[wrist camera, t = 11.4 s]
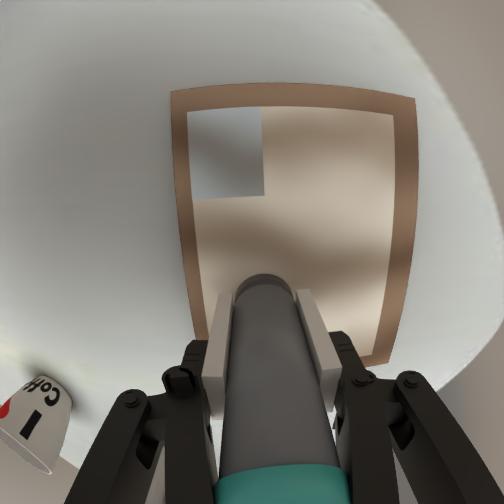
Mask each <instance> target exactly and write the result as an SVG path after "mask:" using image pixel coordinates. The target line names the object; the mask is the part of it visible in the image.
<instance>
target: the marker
mask: <svg viewBox="0 0 504 504" xmlns="http://www.w3.org/2000/svg"><path fill="white" fill-rule="evenodd" d="M214 491H215V504H351V499H350V491H349V485H348V480H347V475H346V472H345V471H344V470H343V469H341V466H340V462H339V458H338V454H337V450H336V446H335V442H334V438H333V434H332V430H331V427H330V423H329V419H328V415H327V412H326V408H325V404H324V401H323V397H322V393H321V390H320V386H319V383H318V379H317V375H316V372H315V368H314V365H313V361H312V358H311V354H310V351H309V348H308V344H307V341H306V337H305V334H304V331H303V327H302V324H301V321H300V317H299V314H298V311H297V307H296V304H295V301H294V298H293V294H292V291H291V289H290V287H289V285H288V284H287V283H286V282H285V281H284V280H283V279H281V278H280V277H278V276H275V275H272V274H257V275H254V276H251V277H249V278H247V279H246V280H244V281H243V282H242V283H241V284H240V286H239V287H238V289H237V291H236V294H235V301H234V311H233V321H232V332H231V342H230V352H229V363H228V374H227V385H226V395H225V406H224V417H223V429H222V441H221V453H220V466H219V479H218V481H217V482H216V484H215V486H214Z"/></svg>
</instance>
